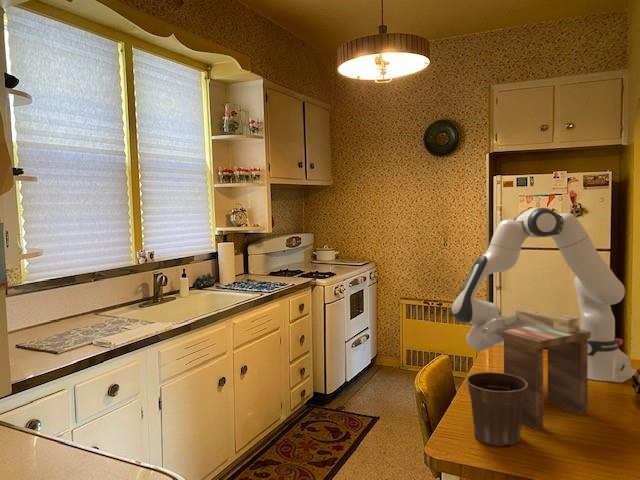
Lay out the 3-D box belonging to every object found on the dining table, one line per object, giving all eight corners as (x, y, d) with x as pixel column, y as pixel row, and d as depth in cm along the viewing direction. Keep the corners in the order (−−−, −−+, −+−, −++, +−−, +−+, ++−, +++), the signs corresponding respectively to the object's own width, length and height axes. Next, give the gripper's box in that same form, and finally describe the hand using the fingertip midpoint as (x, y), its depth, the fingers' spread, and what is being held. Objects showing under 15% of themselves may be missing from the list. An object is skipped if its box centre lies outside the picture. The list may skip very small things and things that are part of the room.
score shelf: (551, 399, 162) (551, 322, 161) (590, 415, 150) (590, 331, 148) (501, 413, 153) (501, 331, 152) (538, 430, 140) (538, 341, 139)
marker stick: (524, 317, 168) (523, 306, 168) (579, 330, 149) (579, 317, 149) (513, 319, 166) (513, 308, 166) (567, 333, 147) (567, 319, 146)
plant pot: (474, 420, 149) (473, 368, 148) (531, 430, 141) (531, 376, 140) (460, 443, 135) (459, 385, 134) (523, 456, 127) (523, 395, 126)
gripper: (474, 324, 172) (500, 310, 160) (517, 317, 180) (544, 303, 169) (481, 341, 169) (507, 328, 158) (524, 333, 178) (552, 321, 166)
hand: (527, 315), depth 163 cm, fingers open, 8 cm apart
